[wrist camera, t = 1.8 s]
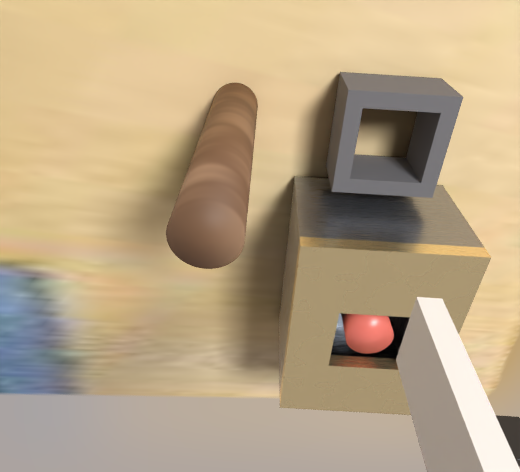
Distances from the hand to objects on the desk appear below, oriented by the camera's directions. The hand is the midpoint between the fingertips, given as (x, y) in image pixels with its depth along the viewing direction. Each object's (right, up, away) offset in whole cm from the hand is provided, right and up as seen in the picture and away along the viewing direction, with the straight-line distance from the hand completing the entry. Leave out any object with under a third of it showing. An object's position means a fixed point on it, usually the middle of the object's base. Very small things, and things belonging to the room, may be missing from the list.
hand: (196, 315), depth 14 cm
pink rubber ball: (+9, -3, +19) cm, 21 cm away
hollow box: (+10, 0, +24) cm, 26 cm away
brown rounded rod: (0, +11, +17) cm, 20 cm away
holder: (+10, +10, +17) cm, 22 cm away
